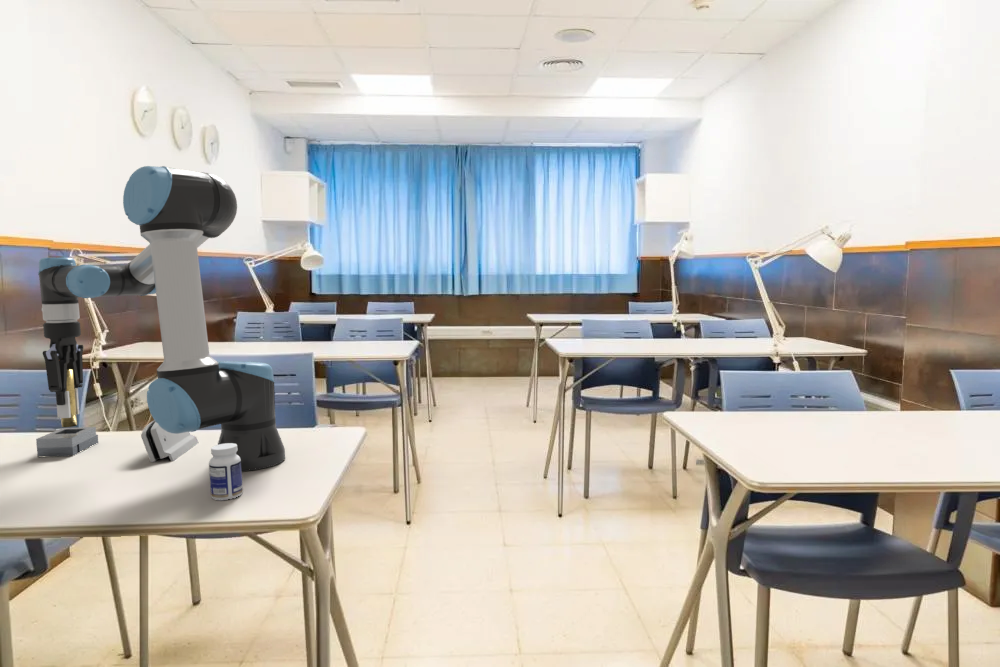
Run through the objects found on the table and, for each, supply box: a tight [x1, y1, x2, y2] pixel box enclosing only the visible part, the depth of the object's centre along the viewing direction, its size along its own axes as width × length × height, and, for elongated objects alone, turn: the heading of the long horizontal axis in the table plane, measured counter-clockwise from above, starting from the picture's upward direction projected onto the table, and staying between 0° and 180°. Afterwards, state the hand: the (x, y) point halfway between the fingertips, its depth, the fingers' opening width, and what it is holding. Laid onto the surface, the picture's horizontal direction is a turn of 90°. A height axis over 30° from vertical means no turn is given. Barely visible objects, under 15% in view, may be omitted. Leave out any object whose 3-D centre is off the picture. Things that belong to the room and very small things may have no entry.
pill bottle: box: [208, 443, 244, 501], centre depth 127 cm, size 6×6×10 cm
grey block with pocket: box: [35, 426, 99, 457], centre depth 162 cm, size 12×8×4 cm
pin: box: [60, 369, 78, 428], centre depth 162 cm, size 3×3×14 cm
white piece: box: [140, 419, 199, 463], centre depth 159 cm, size 17×5×10 cm, turn 5°
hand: (68, 415), depth 162 cm, fingers closed on pin, 3 cm apart
